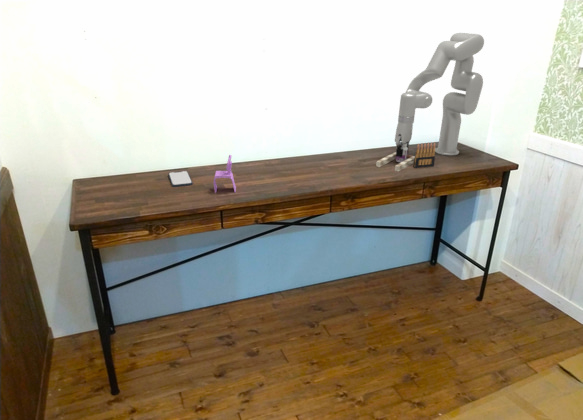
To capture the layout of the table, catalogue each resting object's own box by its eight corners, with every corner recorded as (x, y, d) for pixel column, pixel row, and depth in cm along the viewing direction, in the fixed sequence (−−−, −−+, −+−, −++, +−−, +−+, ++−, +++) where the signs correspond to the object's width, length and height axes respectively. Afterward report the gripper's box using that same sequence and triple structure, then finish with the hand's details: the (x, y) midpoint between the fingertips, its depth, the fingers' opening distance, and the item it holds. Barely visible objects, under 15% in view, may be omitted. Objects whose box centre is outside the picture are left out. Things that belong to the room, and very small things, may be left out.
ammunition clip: (431, 165, 225) (435, 141, 220) (434, 166, 224) (437, 142, 219) (412, 166, 222) (416, 143, 217) (414, 168, 221) (418, 144, 216)
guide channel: (394, 156, 237) (394, 152, 236) (416, 161, 230) (416, 156, 229) (376, 166, 222) (376, 161, 221) (398, 171, 215) (399, 166, 214)
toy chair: (215, 186, 194) (213, 152, 188) (236, 186, 195) (234, 152, 189) (213, 193, 187) (211, 158, 181) (235, 193, 187) (234, 158, 181)
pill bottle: (399, 159, 233) (401, 140, 229) (408, 161, 230) (410, 142, 226) (393, 161, 230) (395, 142, 226) (402, 163, 226) (404, 144, 222)
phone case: (193, 186, 196) (187, 173, 209) (193, 182, 195) (187, 170, 209) (172, 188, 193) (168, 175, 207) (172, 185, 192) (167, 172, 206)
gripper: (406, 115, 229) (402, 149, 237) (391, 121, 217) (387, 157, 224) (420, 117, 225) (415, 152, 233) (405, 123, 213) (401, 160, 220)
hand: (401, 154), depth 228 cm, fingers open, 5 cm apart
